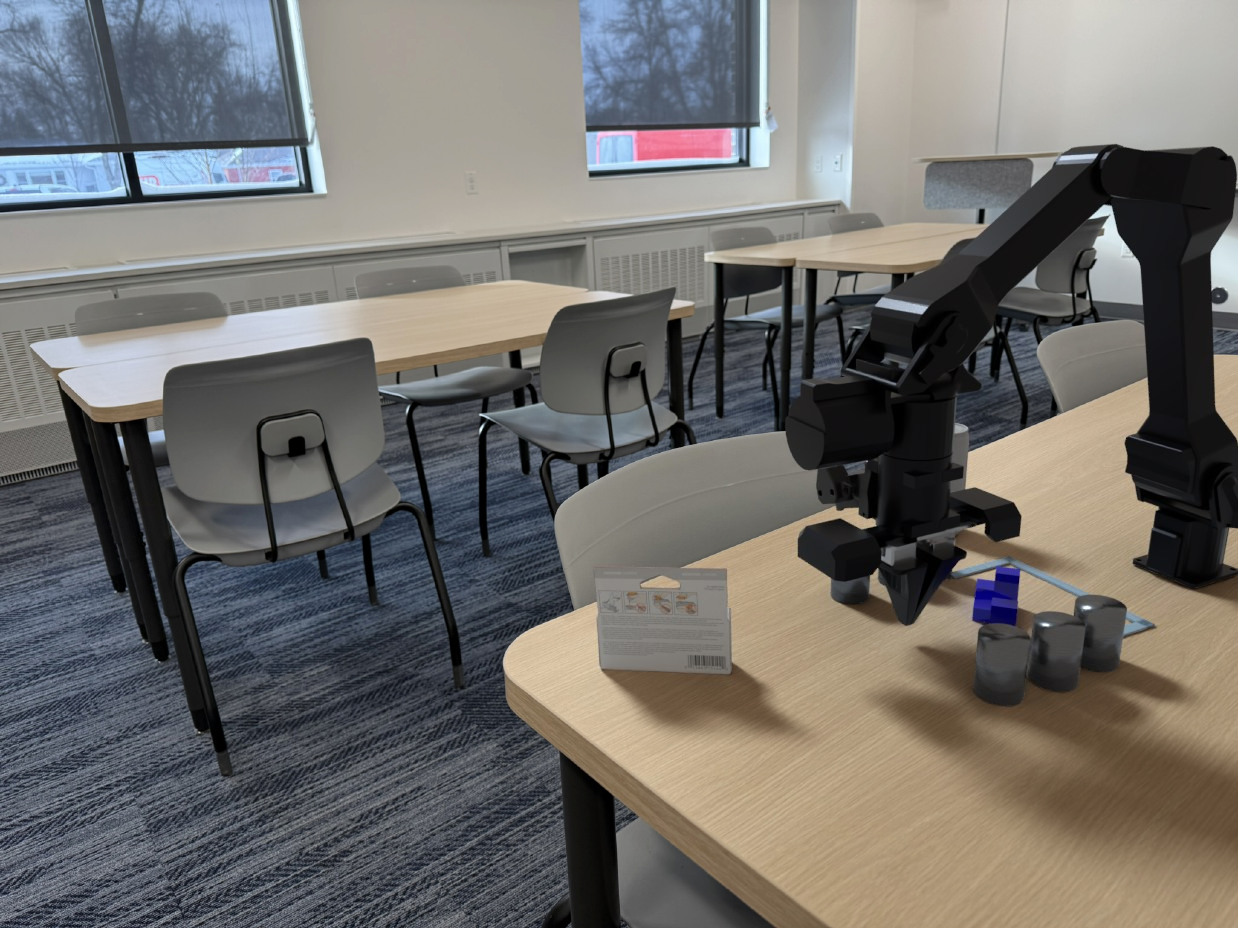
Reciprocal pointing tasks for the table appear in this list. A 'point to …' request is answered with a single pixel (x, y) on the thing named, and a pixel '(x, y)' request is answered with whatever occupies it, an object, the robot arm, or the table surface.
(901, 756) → the table surface
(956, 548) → the robot arm
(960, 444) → the beverage can
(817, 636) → the table surface
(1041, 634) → the spacers
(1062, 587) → the taped bay
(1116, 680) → the table surface
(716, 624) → the ink cartridge box
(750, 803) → the table surface
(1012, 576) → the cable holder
